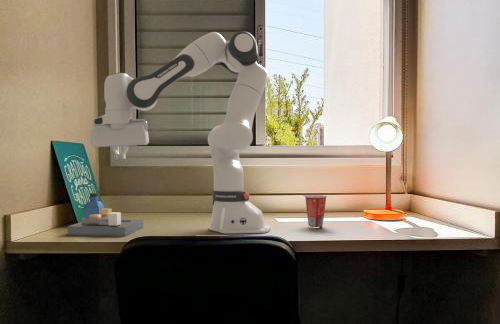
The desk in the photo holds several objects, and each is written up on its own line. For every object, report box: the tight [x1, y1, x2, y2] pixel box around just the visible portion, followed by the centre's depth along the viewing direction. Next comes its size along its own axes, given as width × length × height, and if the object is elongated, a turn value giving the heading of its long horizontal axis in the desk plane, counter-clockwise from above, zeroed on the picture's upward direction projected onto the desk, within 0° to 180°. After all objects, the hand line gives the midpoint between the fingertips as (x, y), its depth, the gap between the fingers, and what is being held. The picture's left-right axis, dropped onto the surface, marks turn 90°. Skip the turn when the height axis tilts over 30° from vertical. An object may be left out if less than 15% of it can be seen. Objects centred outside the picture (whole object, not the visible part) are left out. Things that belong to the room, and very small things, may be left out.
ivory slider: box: [108, 211, 122, 226], centre depth 125 cm, size 3×3×4 cm
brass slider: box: [100, 207, 113, 216], centre depth 135 cm, size 3×3×4 cm
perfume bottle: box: [82, 192, 106, 218], centre depth 146 cm, size 6×6×12 cm
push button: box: [89, 214, 101, 219], centre depth 129 cm, size 4×4×2 cm
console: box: [67, 216, 144, 237], centre depth 130 cm, size 20×16×5 cm
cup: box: [301, 194, 328, 228], centre depth 140 cm, size 9×8×12 cm
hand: (120, 158), depth 130 cm, fingers closed
